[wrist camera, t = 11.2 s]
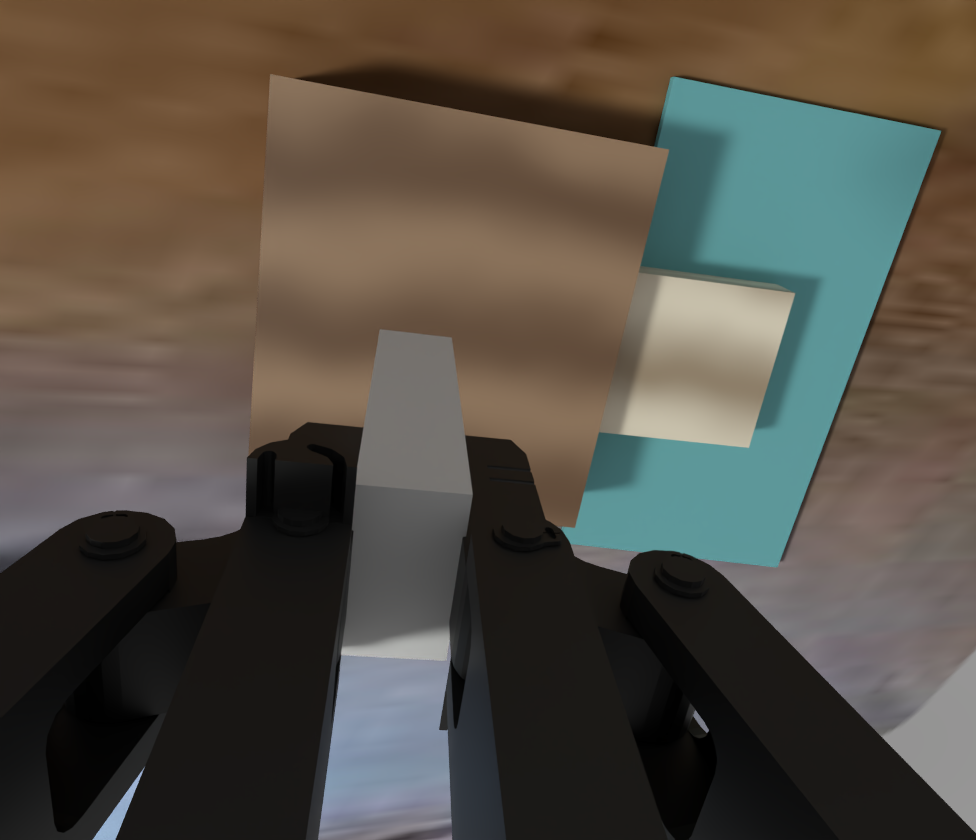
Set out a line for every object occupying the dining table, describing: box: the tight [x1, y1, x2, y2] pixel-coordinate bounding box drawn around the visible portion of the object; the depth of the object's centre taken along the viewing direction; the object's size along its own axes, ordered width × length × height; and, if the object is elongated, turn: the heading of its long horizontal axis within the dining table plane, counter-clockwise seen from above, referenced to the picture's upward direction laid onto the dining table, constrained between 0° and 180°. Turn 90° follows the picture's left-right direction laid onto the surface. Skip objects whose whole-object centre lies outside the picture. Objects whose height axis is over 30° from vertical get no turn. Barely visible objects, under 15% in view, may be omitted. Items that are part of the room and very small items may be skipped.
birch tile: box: [599, 266, 795, 448], centre depth 36 cm, size 8×8×2 cm
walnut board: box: [249, 74, 669, 528], centre depth 34 cm, size 18×16×4 cm
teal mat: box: [562, 77, 941, 567], centre depth 38 cm, size 24×13×1 cm, turn 170°
